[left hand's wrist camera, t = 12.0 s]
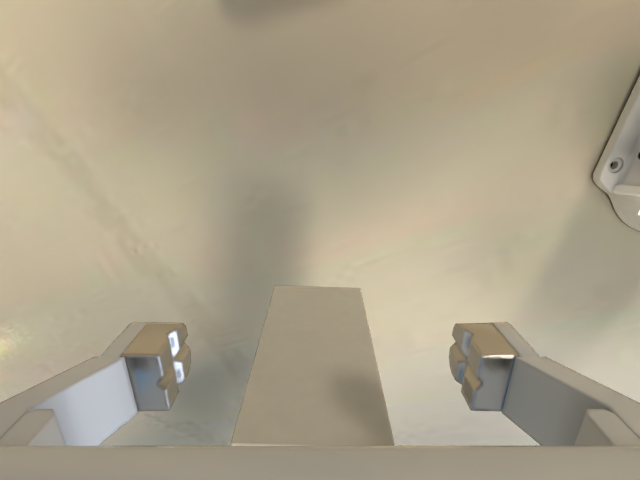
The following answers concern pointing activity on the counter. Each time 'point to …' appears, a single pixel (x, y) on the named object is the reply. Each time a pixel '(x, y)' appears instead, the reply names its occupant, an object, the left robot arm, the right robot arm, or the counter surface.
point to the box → (314, 374)
